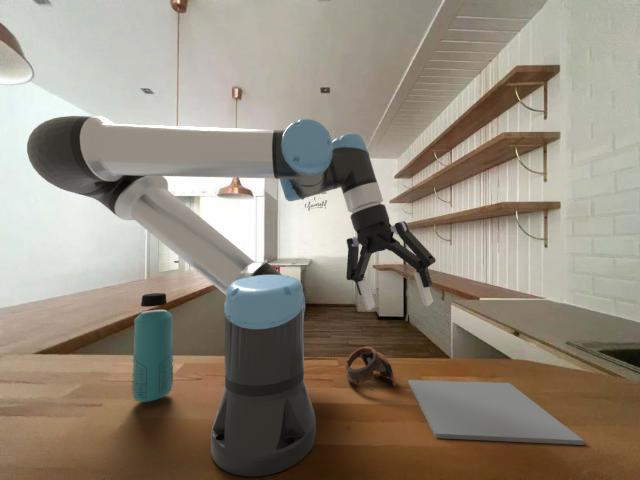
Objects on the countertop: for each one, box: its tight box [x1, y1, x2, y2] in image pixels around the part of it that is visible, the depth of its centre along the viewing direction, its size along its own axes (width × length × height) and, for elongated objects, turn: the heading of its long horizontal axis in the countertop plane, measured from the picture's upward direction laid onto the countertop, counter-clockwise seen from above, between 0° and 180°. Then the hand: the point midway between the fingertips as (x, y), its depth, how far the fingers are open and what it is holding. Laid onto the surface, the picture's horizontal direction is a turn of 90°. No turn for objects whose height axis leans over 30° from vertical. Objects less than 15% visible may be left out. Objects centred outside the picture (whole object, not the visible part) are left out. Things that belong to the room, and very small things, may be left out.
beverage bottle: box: [131, 292, 174, 403], centre depth 51 cm, size 6×7×20 cm
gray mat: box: [407, 379, 585, 446], centre depth 47 cm, size 20×17×1 cm
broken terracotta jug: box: [345, 345, 397, 388], centre depth 58 cm, size 12×10×8 cm
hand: (397, 306), depth 56 cm, fingers open, 13 cm apart
